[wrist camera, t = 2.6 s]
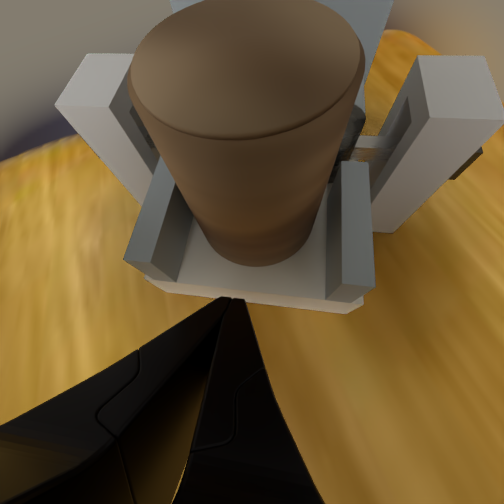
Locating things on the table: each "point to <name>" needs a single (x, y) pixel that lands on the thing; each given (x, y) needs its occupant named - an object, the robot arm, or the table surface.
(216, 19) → the peg
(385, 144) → the plunger
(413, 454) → the table surface
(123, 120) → the channel
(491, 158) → the table surface
